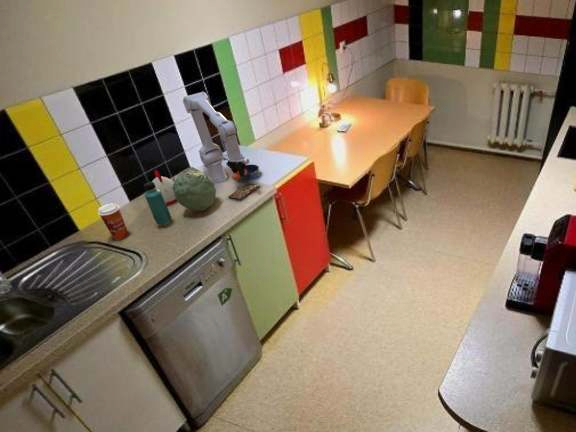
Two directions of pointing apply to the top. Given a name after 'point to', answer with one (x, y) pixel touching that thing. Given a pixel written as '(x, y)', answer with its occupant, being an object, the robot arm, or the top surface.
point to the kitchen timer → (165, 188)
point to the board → (243, 192)
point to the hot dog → (237, 175)
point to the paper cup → (113, 220)
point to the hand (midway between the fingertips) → (239, 175)
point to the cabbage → (194, 189)
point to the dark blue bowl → (250, 173)
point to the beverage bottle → (157, 204)
